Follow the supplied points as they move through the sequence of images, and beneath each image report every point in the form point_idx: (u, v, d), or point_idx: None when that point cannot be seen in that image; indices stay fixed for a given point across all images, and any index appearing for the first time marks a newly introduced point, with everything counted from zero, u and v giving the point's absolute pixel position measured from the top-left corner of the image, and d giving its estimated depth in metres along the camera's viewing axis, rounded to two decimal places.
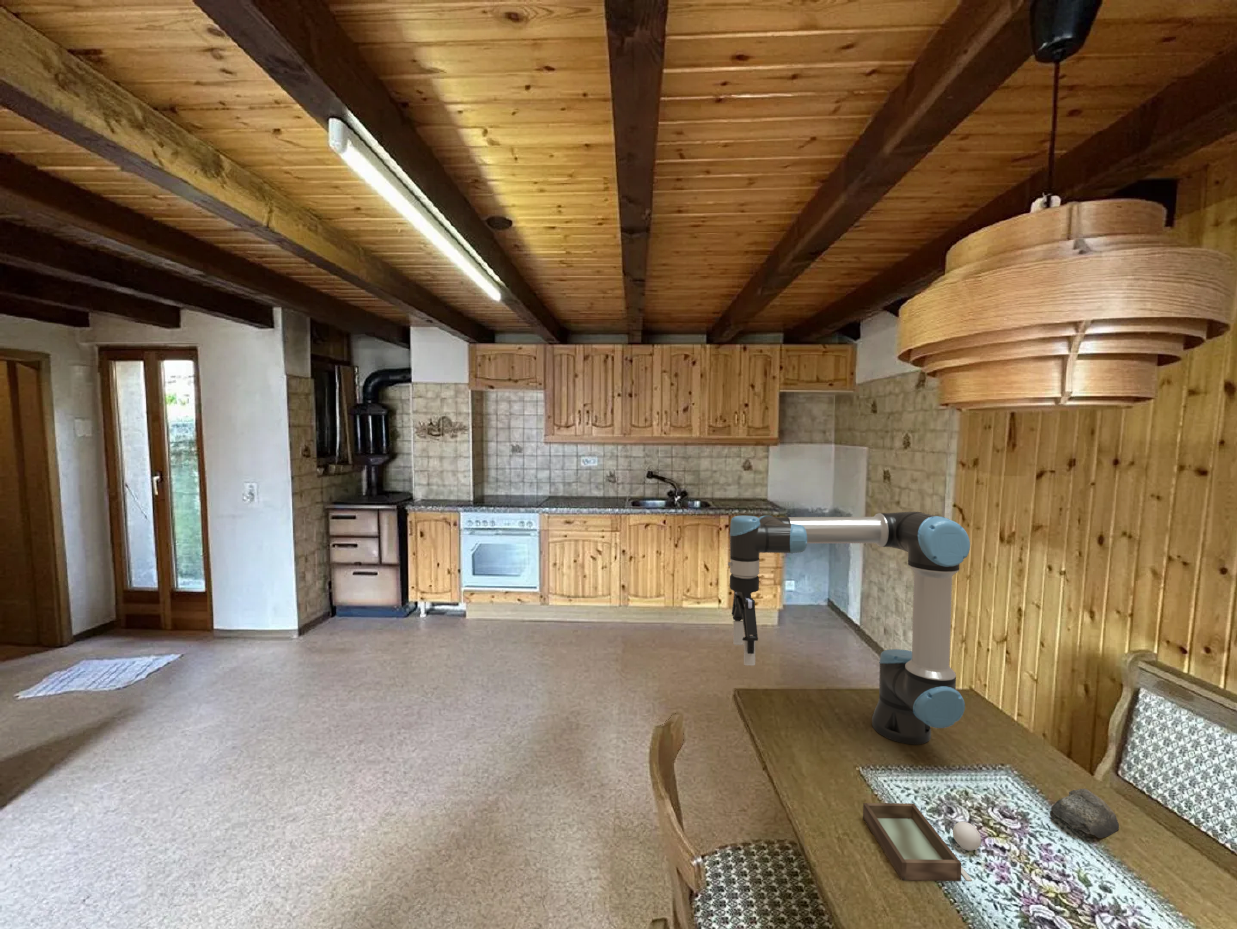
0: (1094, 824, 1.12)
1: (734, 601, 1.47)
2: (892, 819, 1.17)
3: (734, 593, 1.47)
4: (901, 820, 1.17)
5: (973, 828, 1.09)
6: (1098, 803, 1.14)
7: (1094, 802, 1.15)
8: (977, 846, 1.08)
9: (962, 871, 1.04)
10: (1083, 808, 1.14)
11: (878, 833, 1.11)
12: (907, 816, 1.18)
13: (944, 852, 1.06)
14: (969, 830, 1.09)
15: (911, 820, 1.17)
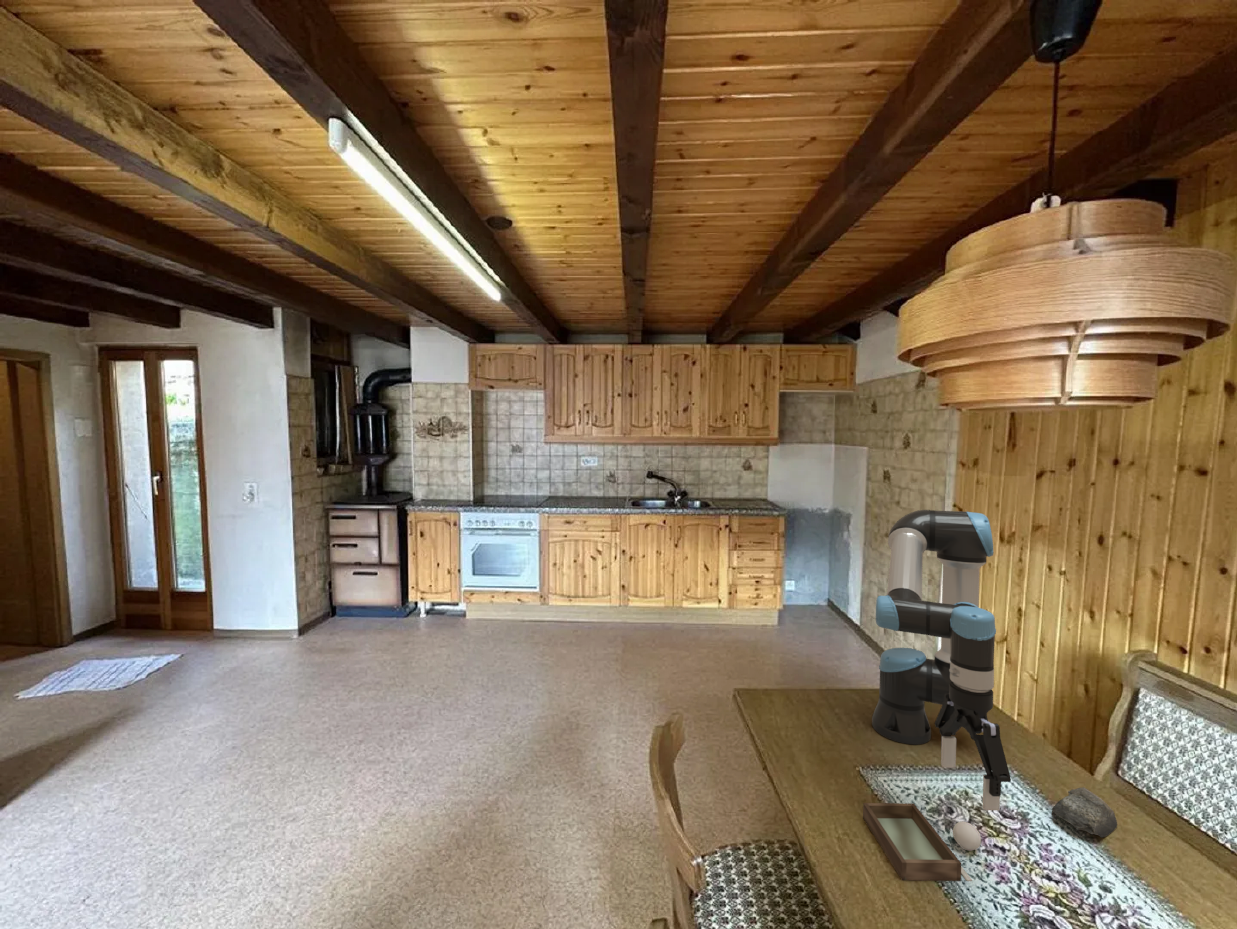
0: (1097, 824, 1.12)
1: (944, 712, 1.16)
2: (892, 819, 1.17)
3: (944, 702, 1.15)
4: (901, 820, 1.17)
5: (973, 828, 1.09)
6: (1099, 802, 1.14)
7: (1095, 801, 1.15)
8: (977, 846, 1.08)
9: (962, 871, 1.04)
10: (1085, 808, 1.14)
11: (878, 833, 1.11)
12: (907, 816, 1.18)
13: (944, 852, 1.06)
14: (969, 830, 1.09)
15: (911, 820, 1.17)
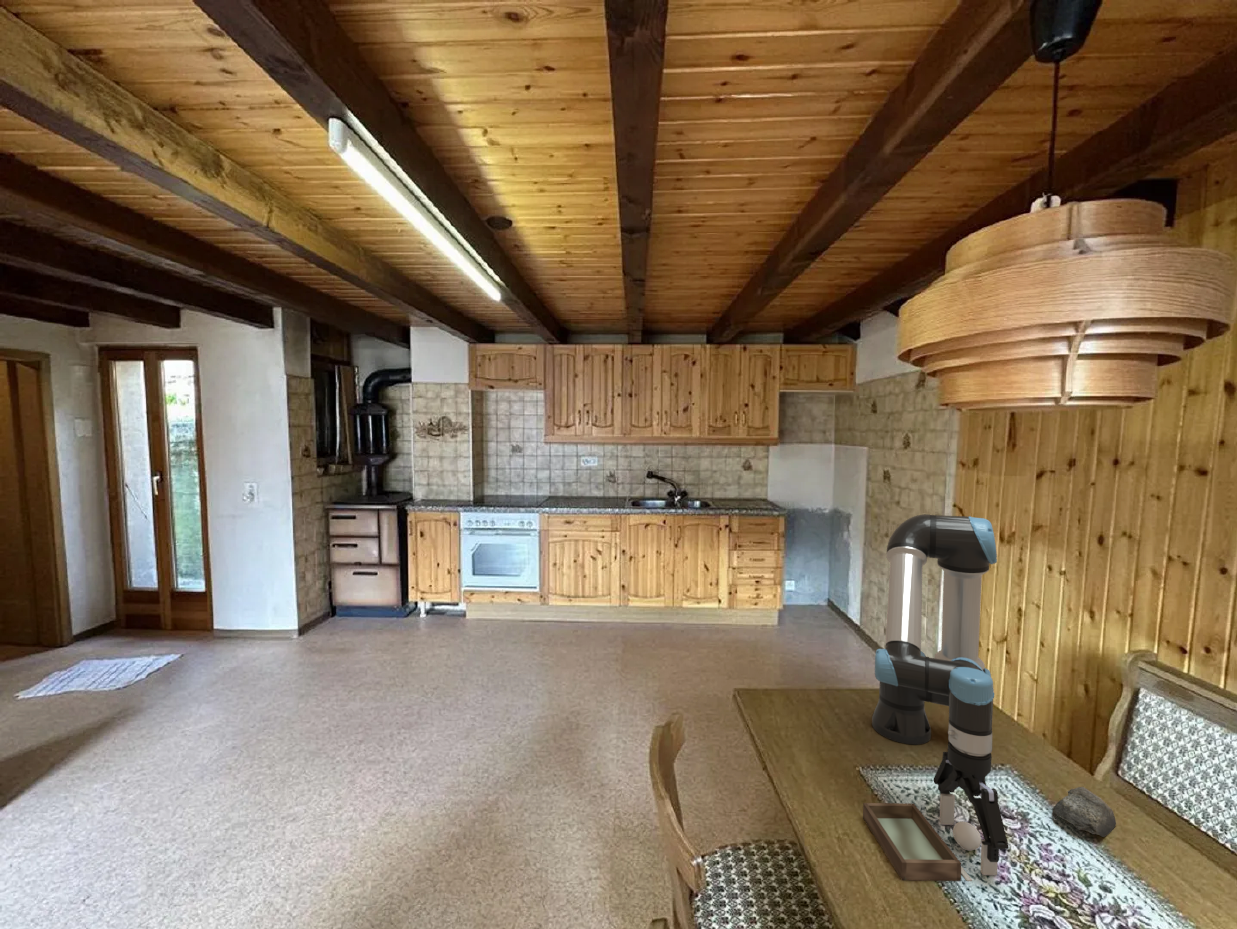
0: (1099, 824, 1.12)
1: (942, 770, 1.16)
2: (892, 819, 1.17)
3: (943, 760, 1.16)
4: (901, 820, 1.17)
5: (973, 828, 1.09)
6: (1099, 801, 1.15)
7: (1095, 801, 1.15)
8: (977, 846, 1.08)
9: (962, 871, 1.04)
10: (1086, 808, 1.14)
11: (878, 833, 1.11)
12: (907, 816, 1.18)
13: (944, 852, 1.06)
14: (969, 830, 1.09)
15: (911, 820, 1.17)
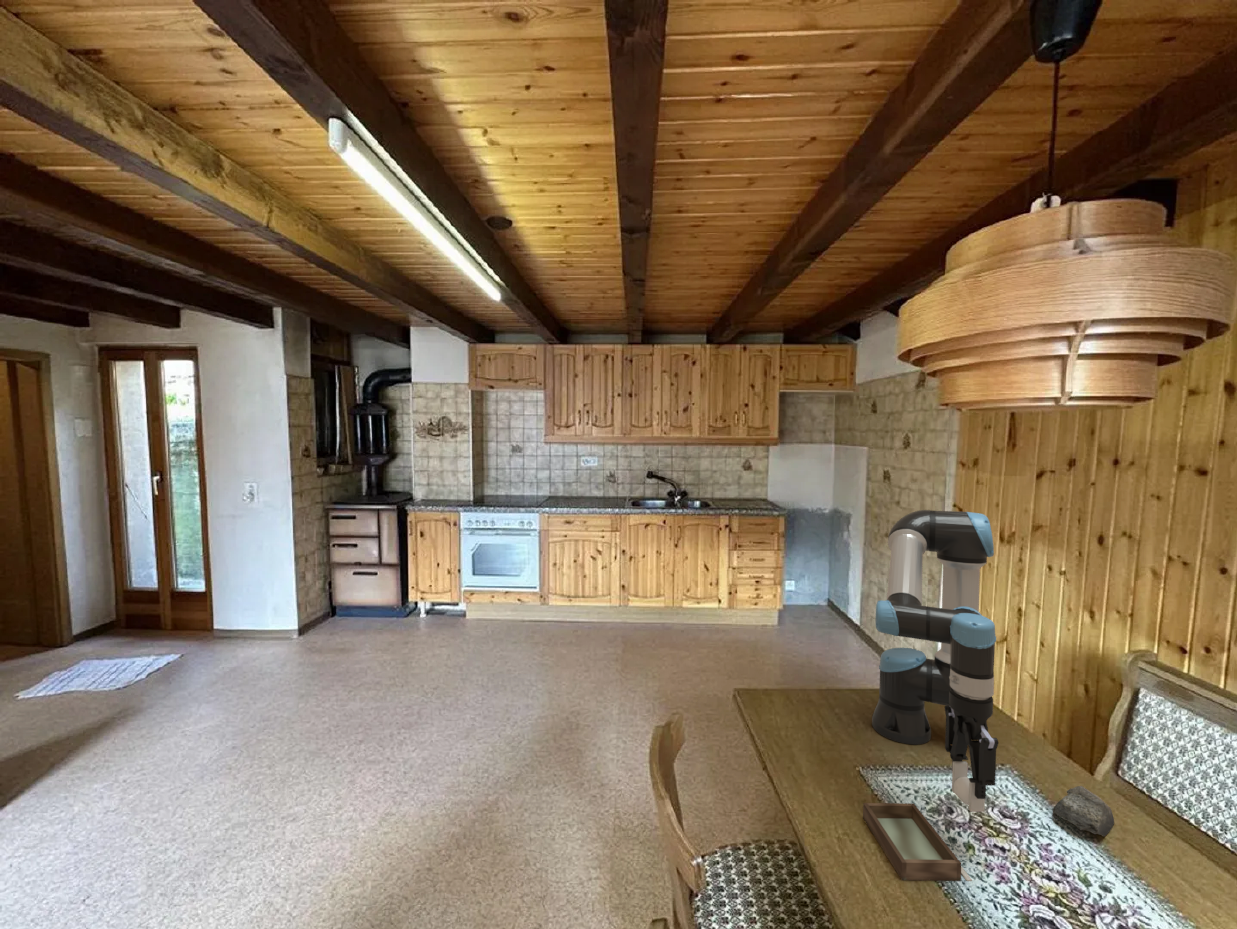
0: (1100, 823, 1.12)
1: (949, 727, 1.14)
2: (892, 819, 1.17)
3: (946, 716, 1.15)
4: (901, 820, 1.17)
5: None
6: (1098, 801, 1.15)
7: (1094, 800, 1.15)
8: None
9: (962, 871, 1.04)
10: (1086, 807, 1.14)
11: (878, 833, 1.11)
12: (907, 816, 1.18)
13: (944, 852, 1.06)
14: None
15: (911, 820, 1.17)
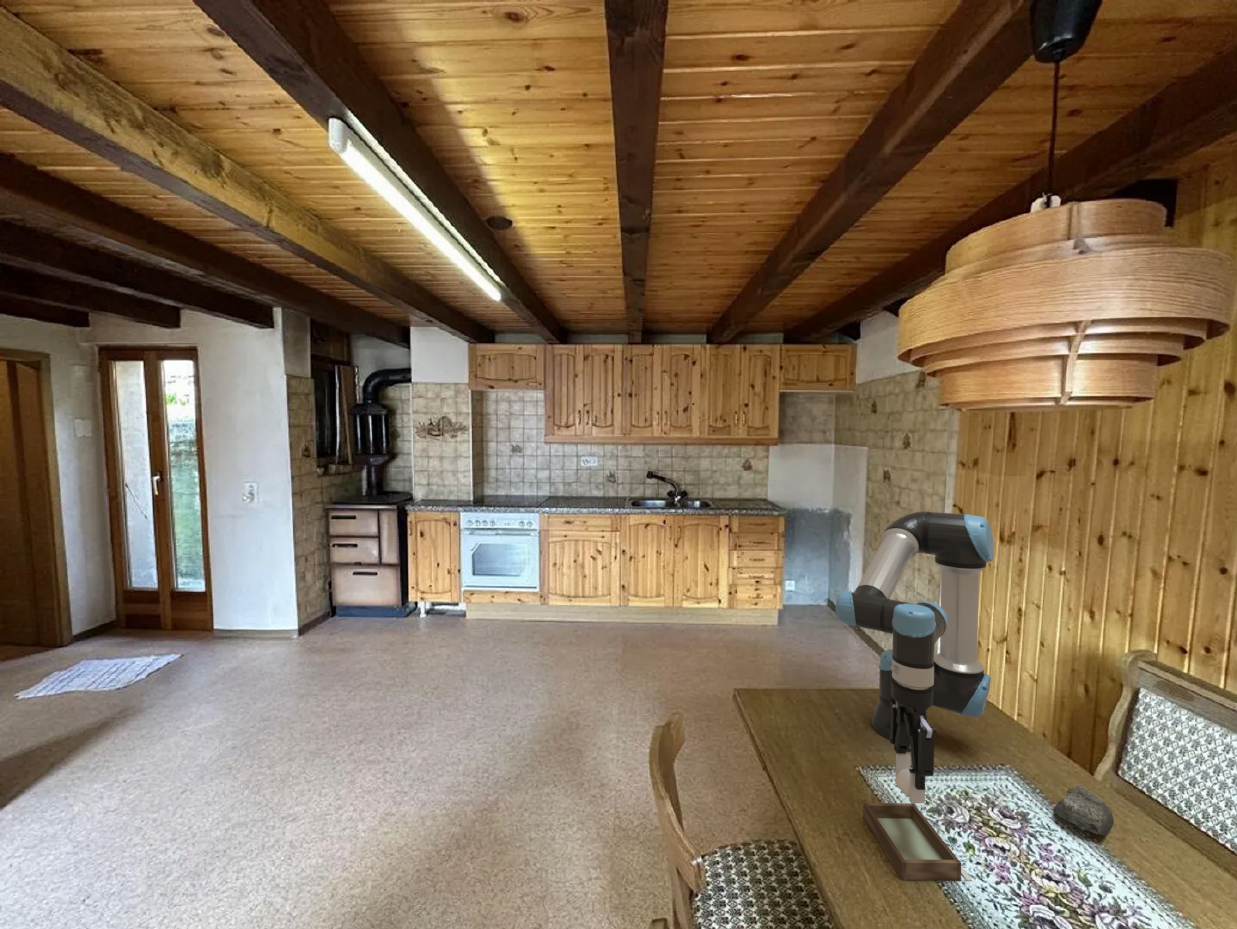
0: (1101, 823, 1.12)
1: (893, 719, 1.14)
2: (892, 819, 1.17)
3: (891, 708, 1.15)
4: (901, 820, 1.17)
5: None
6: (1099, 800, 1.15)
7: (1095, 800, 1.15)
8: None
9: (962, 871, 1.04)
10: (1087, 807, 1.14)
11: (878, 833, 1.11)
12: (907, 816, 1.18)
13: (944, 852, 1.06)
14: None
15: (911, 820, 1.17)
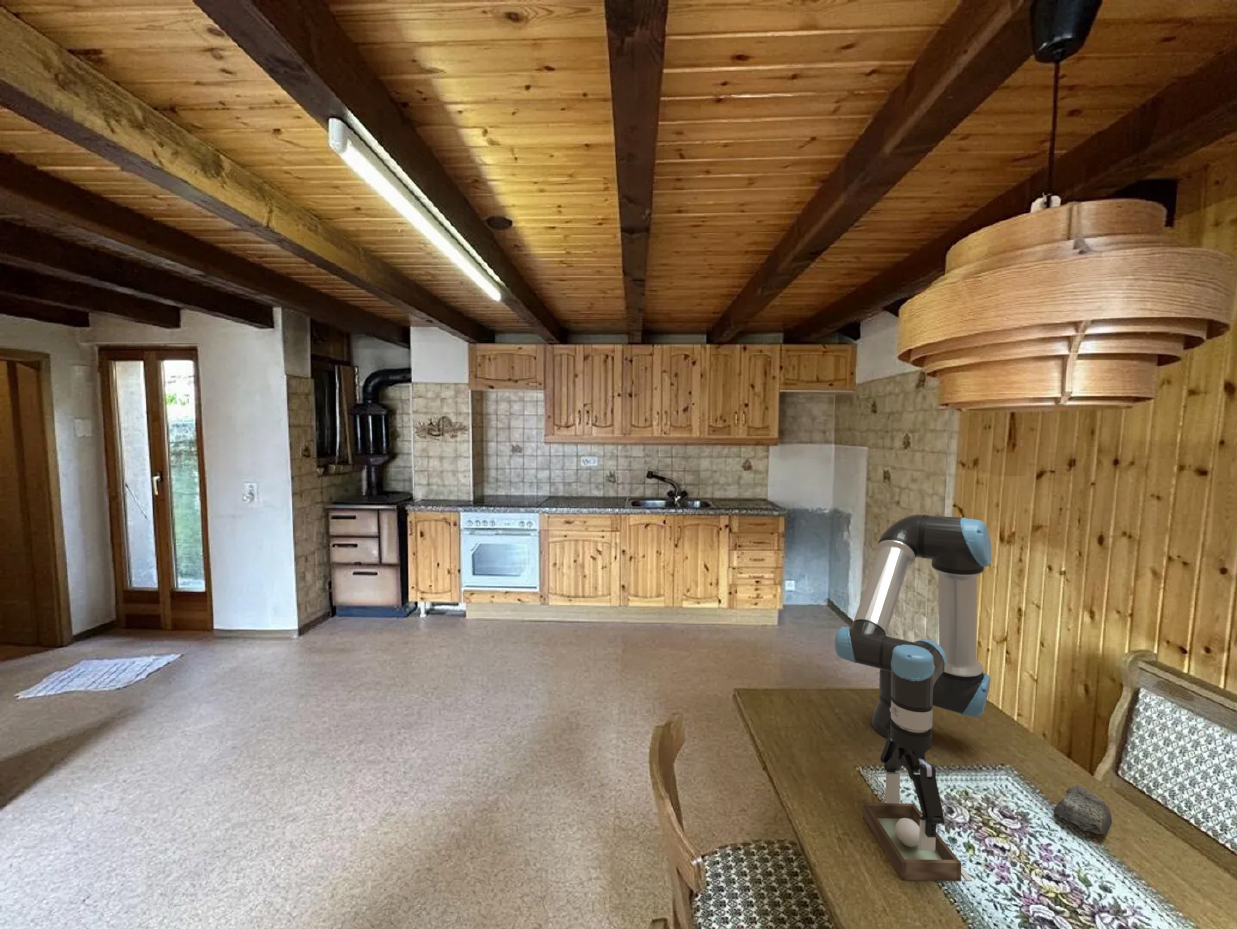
0: (1102, 823, 1.12)
1: (888, 748, 1.16)
2: (892, 819, 1.17)
3: (888, 738, 1.16)
4: None
5: (915, 825, 1.09)
6: (1098, 800, 1.15)
7: (1094, 799, 1.16)
8: (917, 843, 1.08)
9: (962, 871, 1.04)
10: (1088, 807, 1.14)
11: (878, 833, 1.11)
12: (907, 816, 1.18)
13: (944, 852, 1.06)
14: (911, 826, 1.09)
15: None
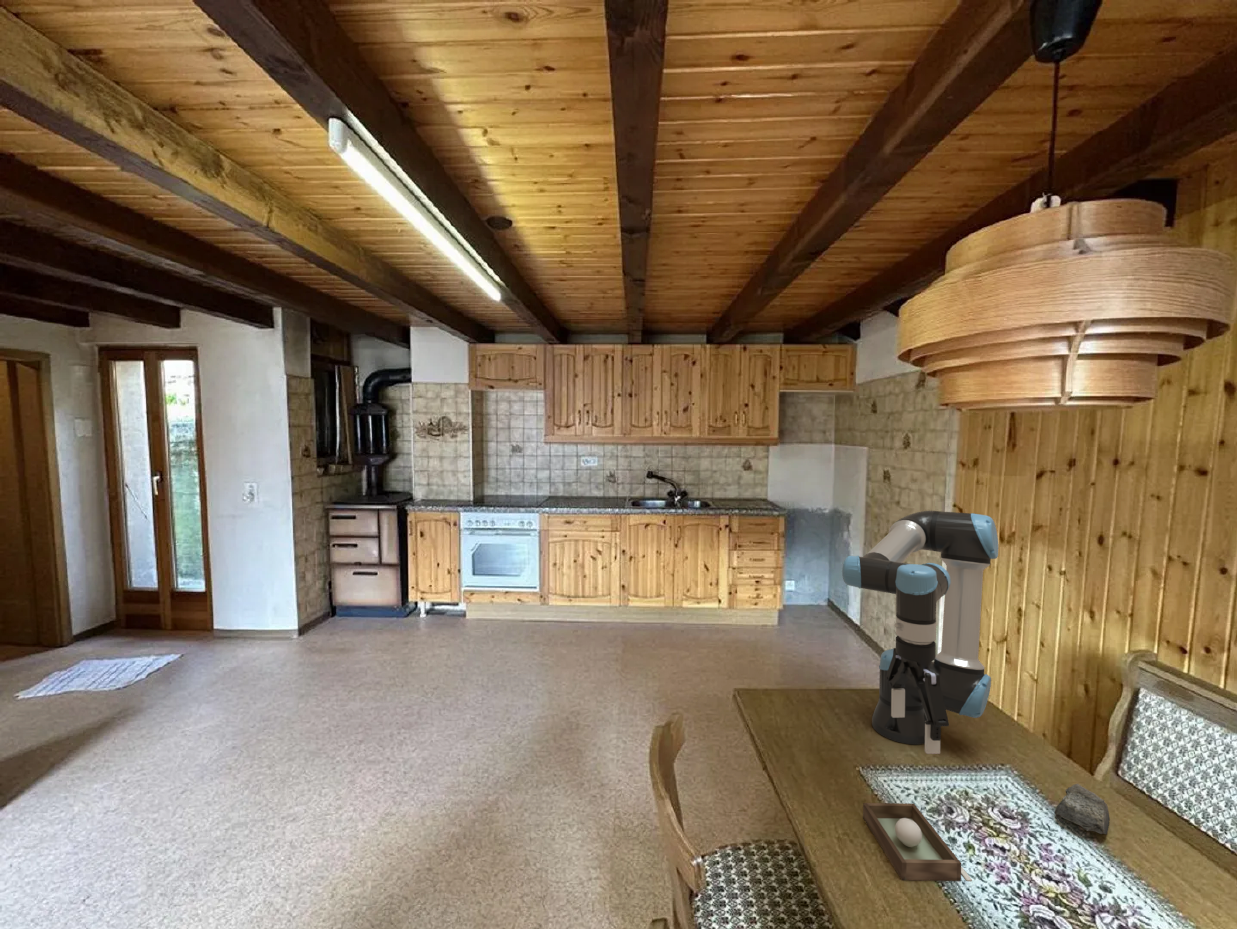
0: (1104, 822, 1.12)
1: (893, 665, 1.21)
2: (892, 819, 1.17)
3: (893, 656, 1.21)
4: None
5: (914, 825, 1.09)
6: (1098, 798, 1.16)
7: (1094, 798, 1.16)
8: (917, 842, 1.08)
9: (962, 871, 1.04)
10: (1089, 807, 1.15)
11: (878, 833, 1.11)
12: (907, 816, 1.18)
13: (944, 852, 1.06)
14: (910, 826, 1.09)
15: None
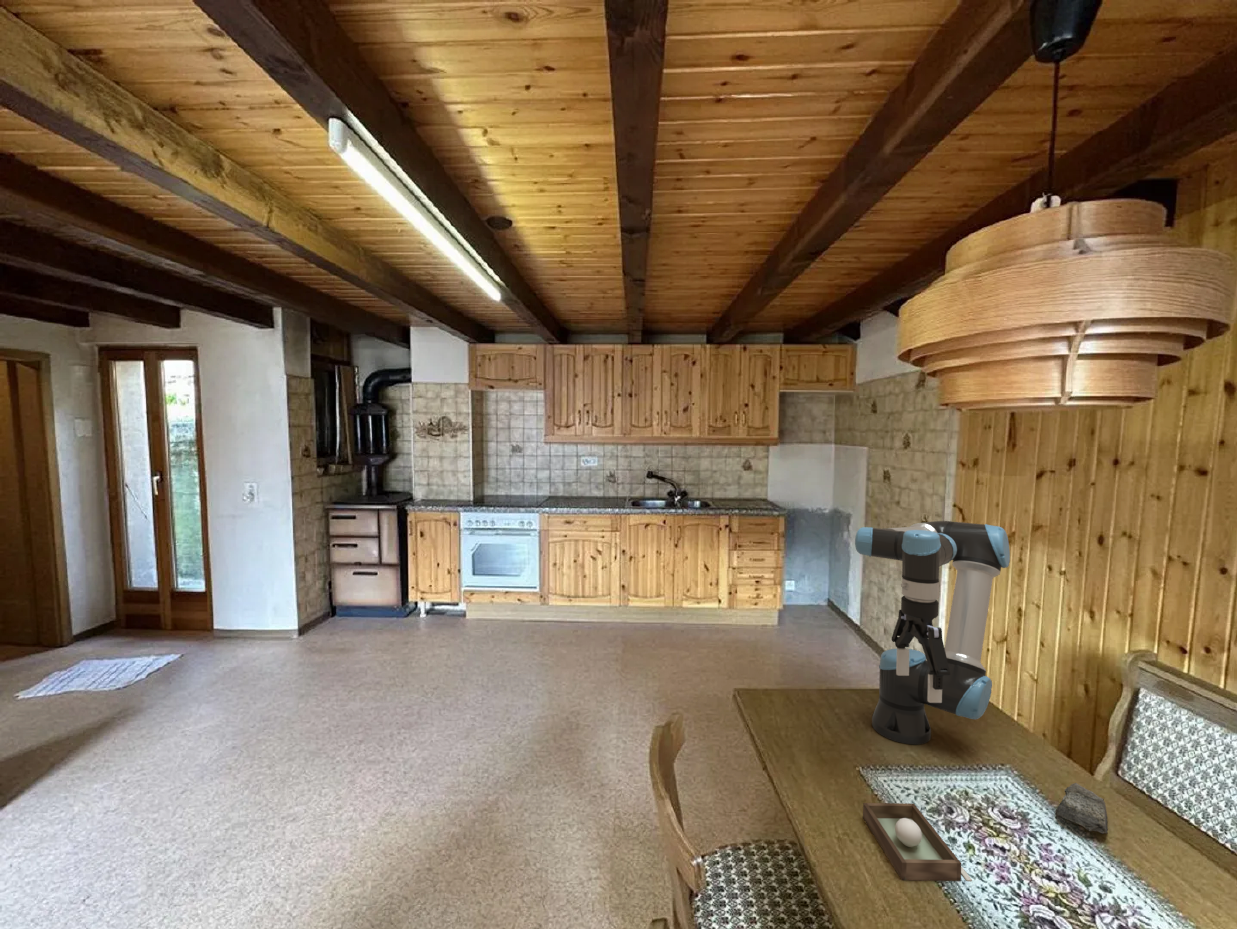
0: (1105, 822, 1.12)
1: (898, 626, 1.30)
2: (892, 819, 1.17)
3: (899, 617, 1.30)
4: None
5: (914, 824, 1.09)
6: (1098, 797, 1.16)
7: (1094, 797, 1.16)
8: (917, 842, 1.08)
9: (962, 871, 1.04)
10: (1090, 806, 1.15)
11: (878, 833, 1.11)
12: (907, 816, 1.18)
13: (944, 852, 1.06)
14: (910, 826, 1.09)
15: None
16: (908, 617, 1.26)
